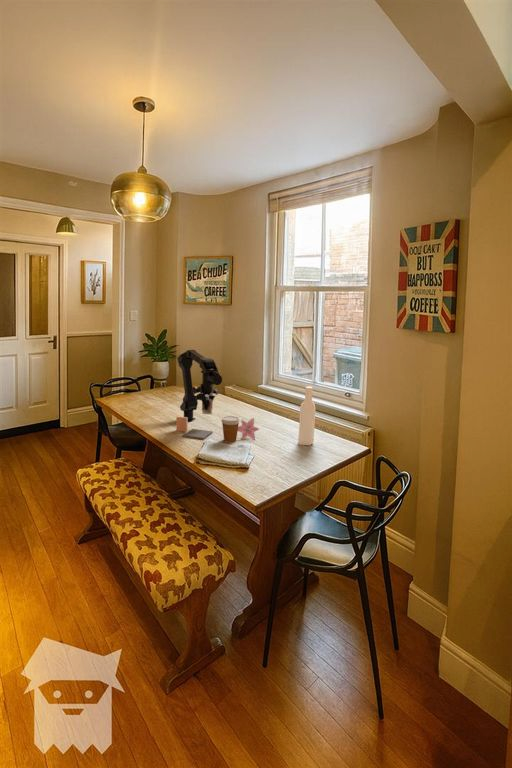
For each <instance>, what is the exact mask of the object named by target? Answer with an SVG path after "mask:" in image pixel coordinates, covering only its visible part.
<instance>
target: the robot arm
mask: <svg viewBox="0 0 512 768" xmlns="http://www.w3.org/2000/svg"><path fill="white" fill-rule="evenodd" d="M176 360H177V363H178V367H179V368H180V369H181V373H182V381H183V388H184V390H183V391H184V395H183V397H182V402H181V404H180V407H179V408H180V411H182V412H183V417H188V422H193V421H194V420H196V417H194V411H195V410H197V409H198V405H199V402H198V401H201V403H202V402H203V405H204V408H205V410H207V409H208V406H209V403H210V400H213V401H214V400H215V398H216V395H219V390H218V389H217V388H214V386H219V385H221V383H222V382H223V378H222V375H220V372H219V369H218V367H217V364H216V362H215V360H214V359H212V358H210V357H205V356H204V355H202V354H200V353H199V352H198V351H196V350H195V349H188V350H186V351H185V352H183V353H180V355H178V356H177V359H176ZM193 361H194V362H195V363H197V364H198V365H199V368H200V369H201V371H200V373H201V374H202V375H201V376H202V378H201V379H202V383H200V386H196V385H195V386H193V380H192V372H191V369H192V366H193ZM197 393H198V394H197ZM214 394H215V395H214Z"/></svg>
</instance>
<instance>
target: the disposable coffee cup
mask: <svg viewBox="0 0 512 768" xmlns="http://www.w3.org/2000/svg"><path fill="white" fill-rule="evenodd" d="M240 422H241V420H240V418H239V417H237V416H234V415H233V416H231V415H227V416H224V417H222V419H221V424H222V433H223V441H224V442H225V443H235V442H236V441H237V437H238V432H239V431H238V427H239V426H240V425H239V424H240Z"/></svg>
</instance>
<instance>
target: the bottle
mask: <svg viewBox="0 0 512 768" xmlns="http://www.w3.org/2000/svg"><path fill="white" fill-rule="evenodd" d="M313 391H314V387H313V386H306V387H305V391H304V393H305V394H304V400H303V401H302V402H301V404H300V408H299V421H298V422H299V423H298V424H299V426H298V438H297V440H298V441H297V442H298V444H299V445H300V446H304V445H310V446H312V445H311V444H313V445H314V440H315V439H314V436H315V435H314V434H315V422H316V410H317V409H316V404H315V402H314V401H313Z"/></svg>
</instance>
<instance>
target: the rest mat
mask: <svg viewBox="0 0 512 768" xmlns="http://www.w3.org/2000/svg"><path fill="white" fill-rule="evenodd" d="M212 434H214V433H213V430H206V429H205V430H204V429H197V428H192V429H190V430H189V431H187V432H184V433H183V434H182V437H183V438H187V437H188V438H190V439H196V440H206V439H207V438H209V436H211V435H212Z"/></svg>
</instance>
